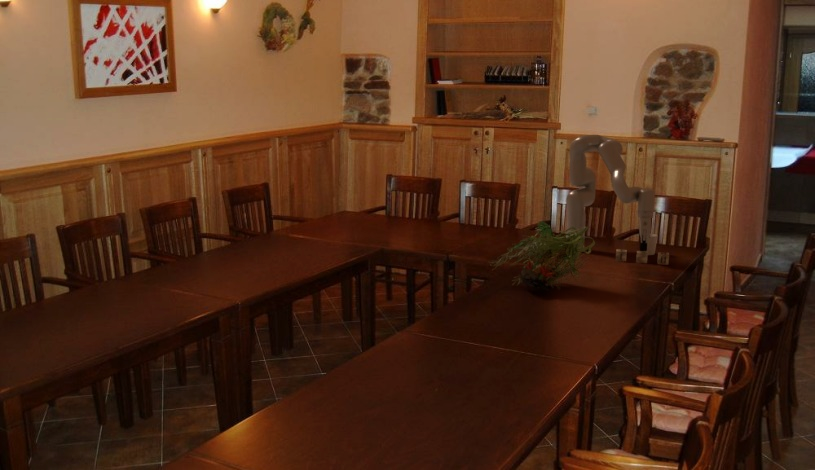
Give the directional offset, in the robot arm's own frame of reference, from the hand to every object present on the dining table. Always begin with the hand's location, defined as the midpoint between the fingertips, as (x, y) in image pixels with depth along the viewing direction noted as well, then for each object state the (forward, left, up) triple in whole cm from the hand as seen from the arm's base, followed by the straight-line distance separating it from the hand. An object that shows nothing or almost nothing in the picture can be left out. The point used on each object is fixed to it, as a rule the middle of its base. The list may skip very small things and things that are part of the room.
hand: (643, 250), depth 418 cm
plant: (-67, -37, -6) cm, 77 cm away
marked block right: (+9, -4, -6) cm, 11 cm away
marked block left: (-9, +5, -6) cm, 12 cm away
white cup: (+12, +16, -6) cm, 21 cm away
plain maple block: (0, 0, -6) cm, 6 cm away
